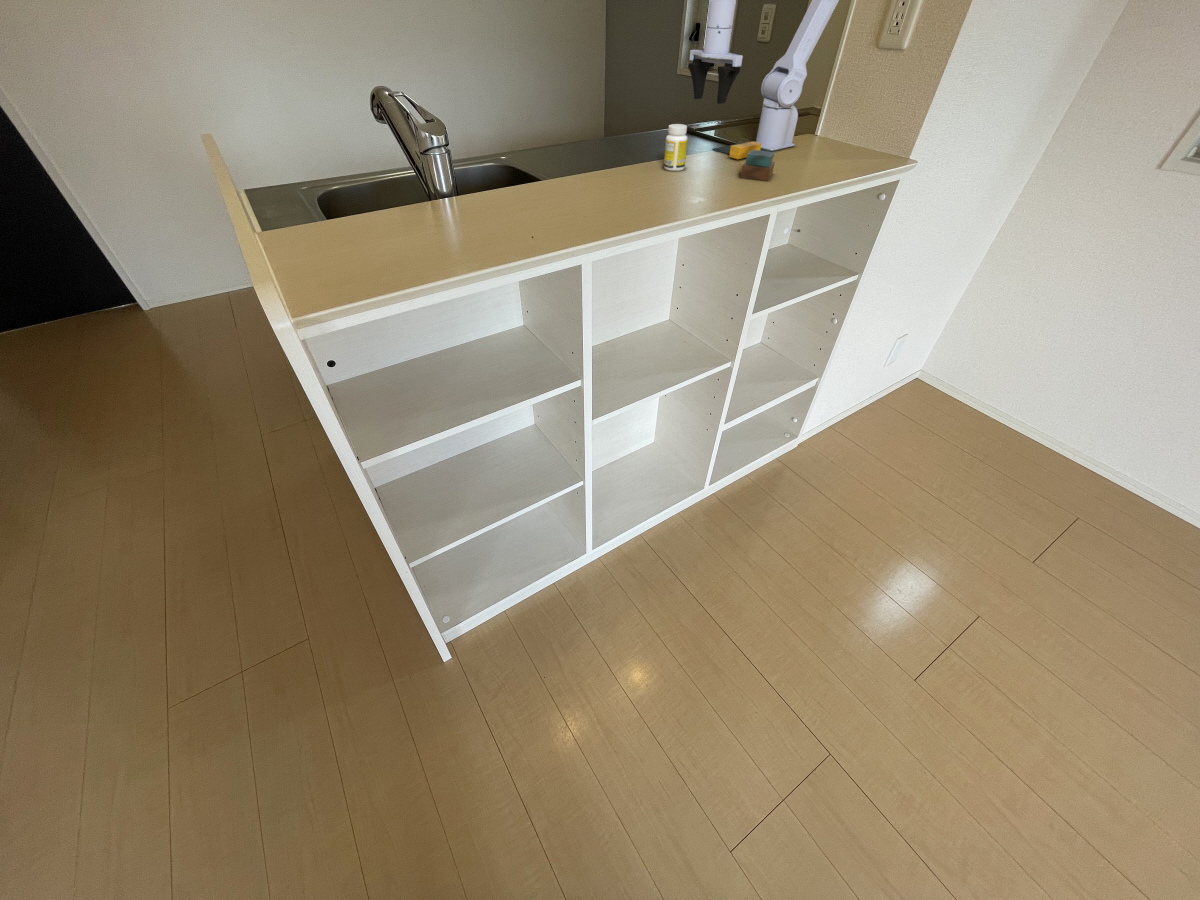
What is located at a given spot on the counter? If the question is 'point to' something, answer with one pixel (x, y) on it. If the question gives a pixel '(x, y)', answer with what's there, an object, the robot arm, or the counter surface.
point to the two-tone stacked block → (758, 165)
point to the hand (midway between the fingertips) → (709, 100)
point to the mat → (727, 148)
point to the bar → (743, 149)
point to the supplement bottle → (675, 147)
